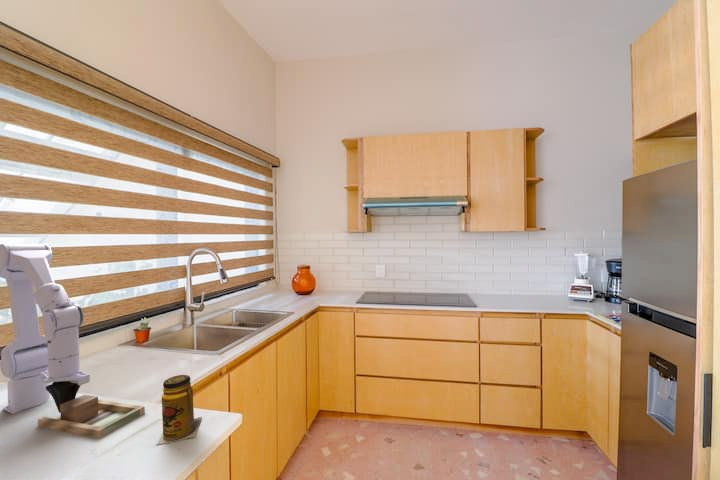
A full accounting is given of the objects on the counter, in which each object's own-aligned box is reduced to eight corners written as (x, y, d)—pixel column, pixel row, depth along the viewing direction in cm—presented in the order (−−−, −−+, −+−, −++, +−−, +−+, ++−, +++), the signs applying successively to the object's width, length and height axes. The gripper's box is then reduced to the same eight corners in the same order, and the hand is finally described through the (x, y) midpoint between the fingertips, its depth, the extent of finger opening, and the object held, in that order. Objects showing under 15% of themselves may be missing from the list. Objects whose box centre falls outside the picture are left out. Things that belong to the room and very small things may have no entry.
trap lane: (38, 430, 74) (37, 419, 74) (87, 408, 84) (87, 398, 84) (99, 442, 68) (98, 430, 68) (144, 416, 78) (144, 406, 78)
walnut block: (60, 421, 76) (60, 404, 76) (84, 410, 81) (83, 394, 81) (75, 424, 74) (74, 406, 74) (98, 412, 79) (97, 396, 79)
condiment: (156, 445, 66) (154, 387, 67) (167, 424, 75) (165, 372, 75) (195, 438, 69) (193, 381, 69) (202, 417, 77) (200, 367, 77)
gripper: (24, 359, 77) (25, 416, 77) (65, 363, 73) (66, 423, 73) (58, 350, 84) (60, 401, 84) (98, 353, 80) (99, 407, 80)
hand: (65, 410), depth 79 cm, fingers closed
